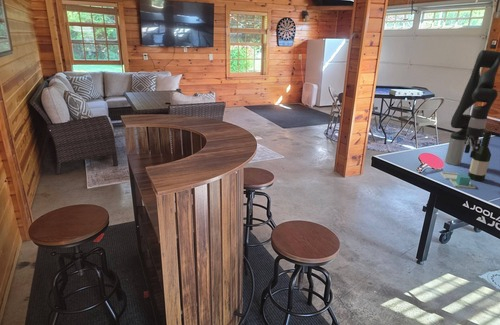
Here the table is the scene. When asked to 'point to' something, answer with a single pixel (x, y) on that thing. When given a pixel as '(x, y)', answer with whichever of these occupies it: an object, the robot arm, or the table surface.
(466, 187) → the green tray
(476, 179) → the wine bottle
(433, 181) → the table surface
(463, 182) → the teal block
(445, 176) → the grey tray
